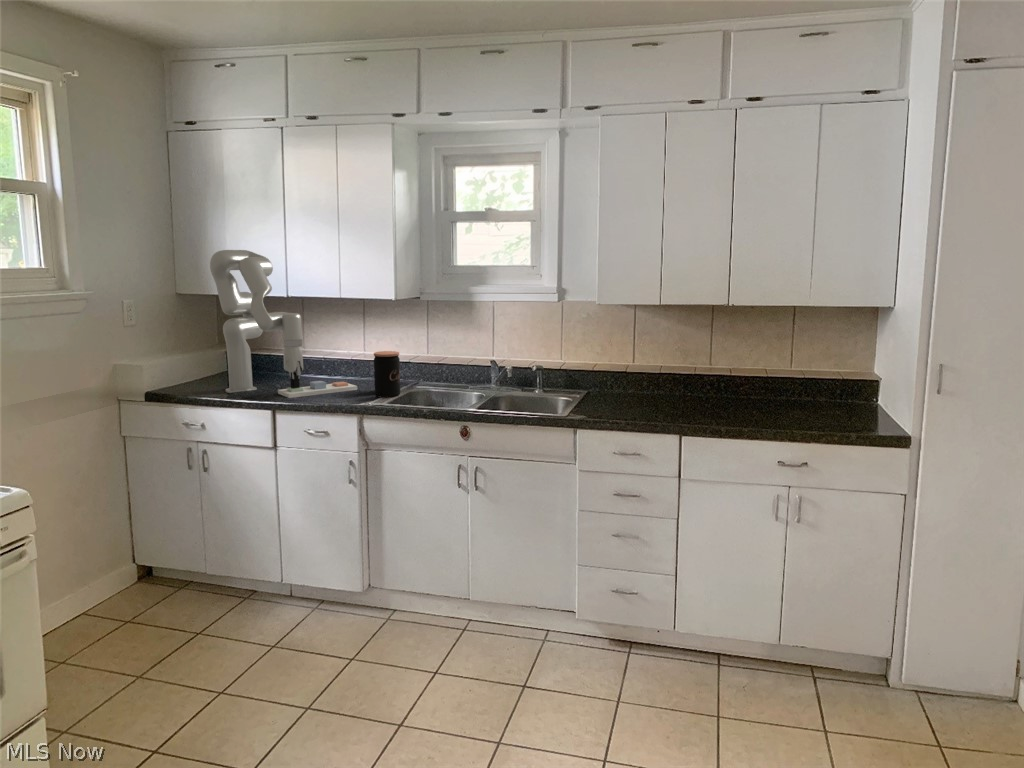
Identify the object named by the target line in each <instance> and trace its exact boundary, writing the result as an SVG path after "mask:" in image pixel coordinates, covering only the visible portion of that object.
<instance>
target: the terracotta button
mask: <svg viewBox="0 0 1024 768" xmlns="http://www.w3.org/2000/svg"><path fill="white" fill-rule="evenodd" d="M348 383H349V382H346V381H336V382H332V383H331V384H332V386H335V387H342V386H348Z"/></svg>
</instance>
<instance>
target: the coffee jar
mask: <svg viewBox="0 0 1024 768" xmlns="http://www.w3.org/2000/svg"><path fill="white" fill-rule="evenodd" d="M399 355H400V352H399V351H396V350H394V351H392V350H382V351H381V350H380V351H375V352H373V356H374V358H373V377H374V379H373V380H374V381H373V382H374V393H375V396H376V397H378V396H381V397H380V398H394V397H398V396H400V394H401V368H400V367H401V365H400V363H401V362H400V357H399Z"/></svg>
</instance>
